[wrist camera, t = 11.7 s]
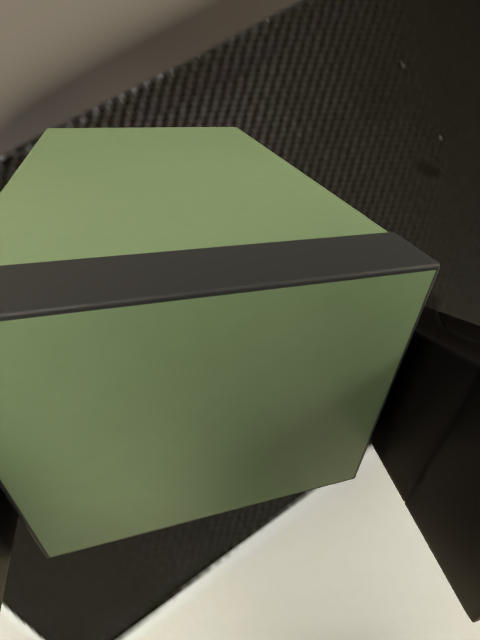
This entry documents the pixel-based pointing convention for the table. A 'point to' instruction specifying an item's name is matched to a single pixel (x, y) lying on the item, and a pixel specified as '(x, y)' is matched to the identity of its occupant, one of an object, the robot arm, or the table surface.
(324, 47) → the table surface
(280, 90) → the table surface
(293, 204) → the box
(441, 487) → the robot arm
